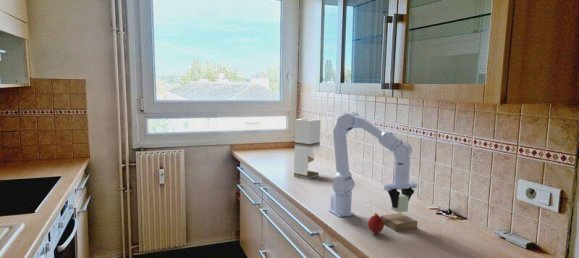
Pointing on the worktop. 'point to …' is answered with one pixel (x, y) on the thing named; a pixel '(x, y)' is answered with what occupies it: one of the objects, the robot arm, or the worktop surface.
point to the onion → (376, 224)
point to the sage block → (402, 204)
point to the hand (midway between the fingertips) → (399, 206)
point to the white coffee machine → (305, 146)
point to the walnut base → (399, 222)
